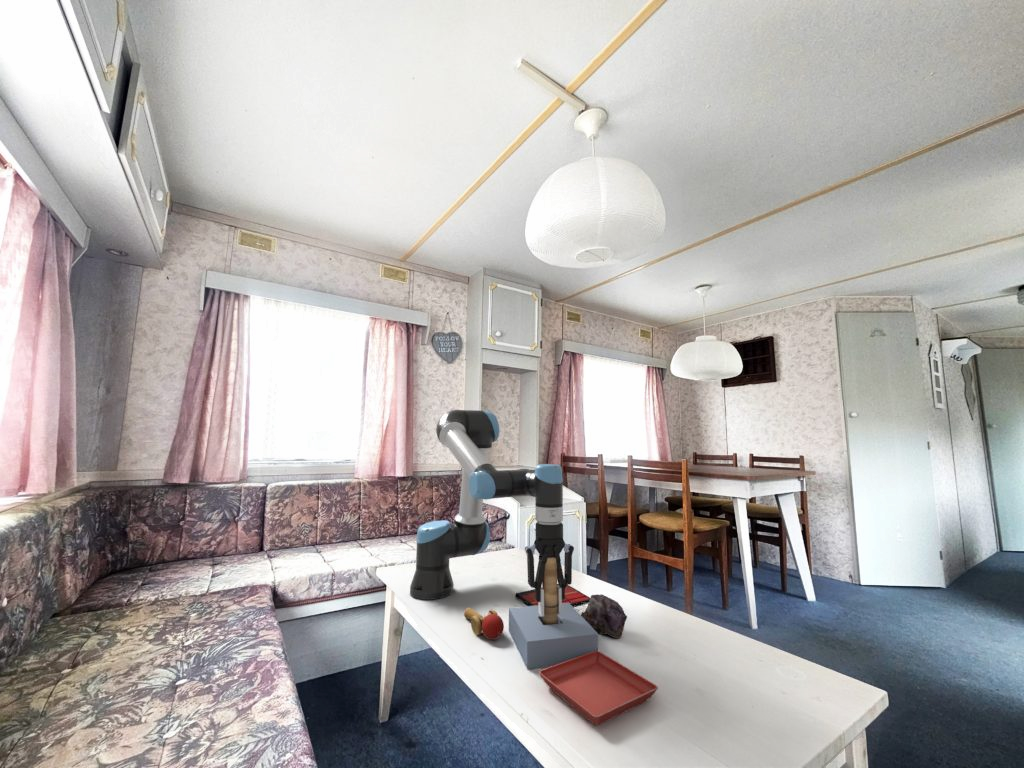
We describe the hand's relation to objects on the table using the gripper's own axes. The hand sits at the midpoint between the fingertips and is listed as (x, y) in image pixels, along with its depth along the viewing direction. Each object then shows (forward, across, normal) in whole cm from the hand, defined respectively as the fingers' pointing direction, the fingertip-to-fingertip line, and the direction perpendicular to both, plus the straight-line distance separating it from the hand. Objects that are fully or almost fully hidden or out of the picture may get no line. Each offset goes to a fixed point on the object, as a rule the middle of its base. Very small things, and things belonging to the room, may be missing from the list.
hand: (550, 613), depth 108 cm
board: (+8, 0, 0) cm, 8 cm away
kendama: (+8, -16, +13) cm, 22 cm away
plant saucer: (+8, +3, -22) cm, 24 cm away
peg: (+4, 0, 0) cm, 4 cm away
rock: (+8, +18, +4) cm, 20 cm away
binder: (+8, +11, +29) cm, 32 cm away
